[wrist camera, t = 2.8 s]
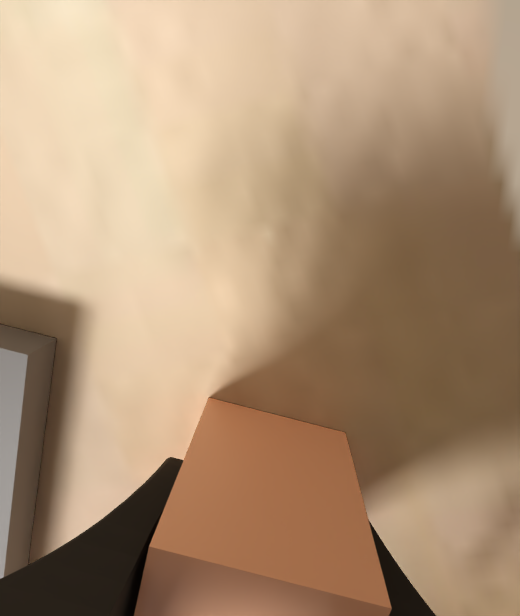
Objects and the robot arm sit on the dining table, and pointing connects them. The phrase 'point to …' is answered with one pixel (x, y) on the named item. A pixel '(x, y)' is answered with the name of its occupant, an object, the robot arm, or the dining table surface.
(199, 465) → the terracotta block
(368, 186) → the dining table surface
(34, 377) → the shelf board
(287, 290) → the dining table surface
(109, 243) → the dining table surface
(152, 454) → the dining table surface
